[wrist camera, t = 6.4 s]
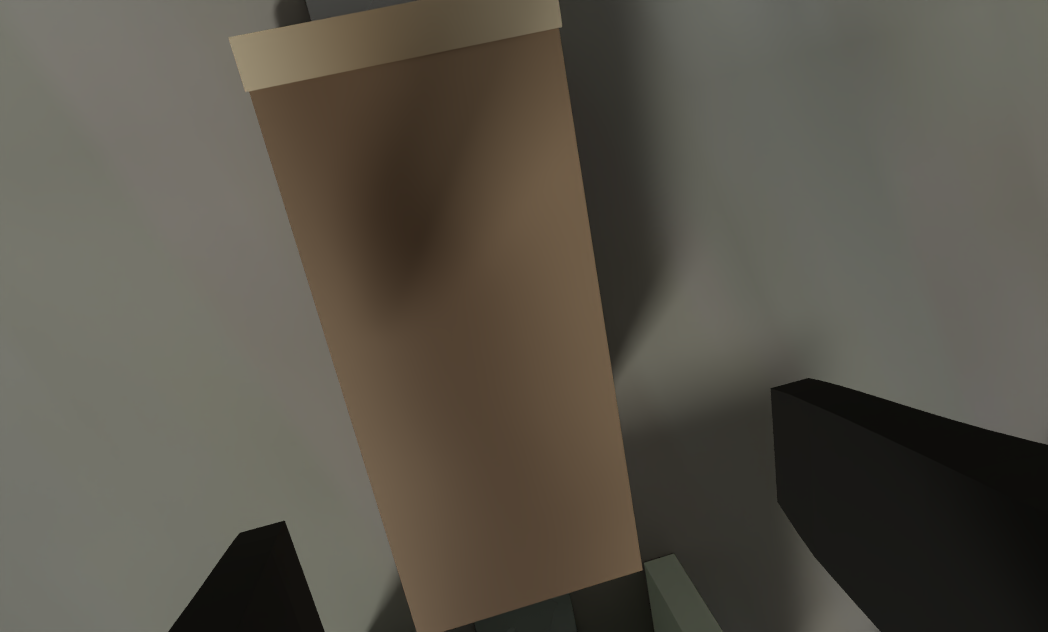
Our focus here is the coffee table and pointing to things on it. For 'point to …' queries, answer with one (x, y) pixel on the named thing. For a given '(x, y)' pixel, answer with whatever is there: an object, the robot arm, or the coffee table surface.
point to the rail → (536, 626)
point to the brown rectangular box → (455, 291)
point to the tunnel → (676, 599)
